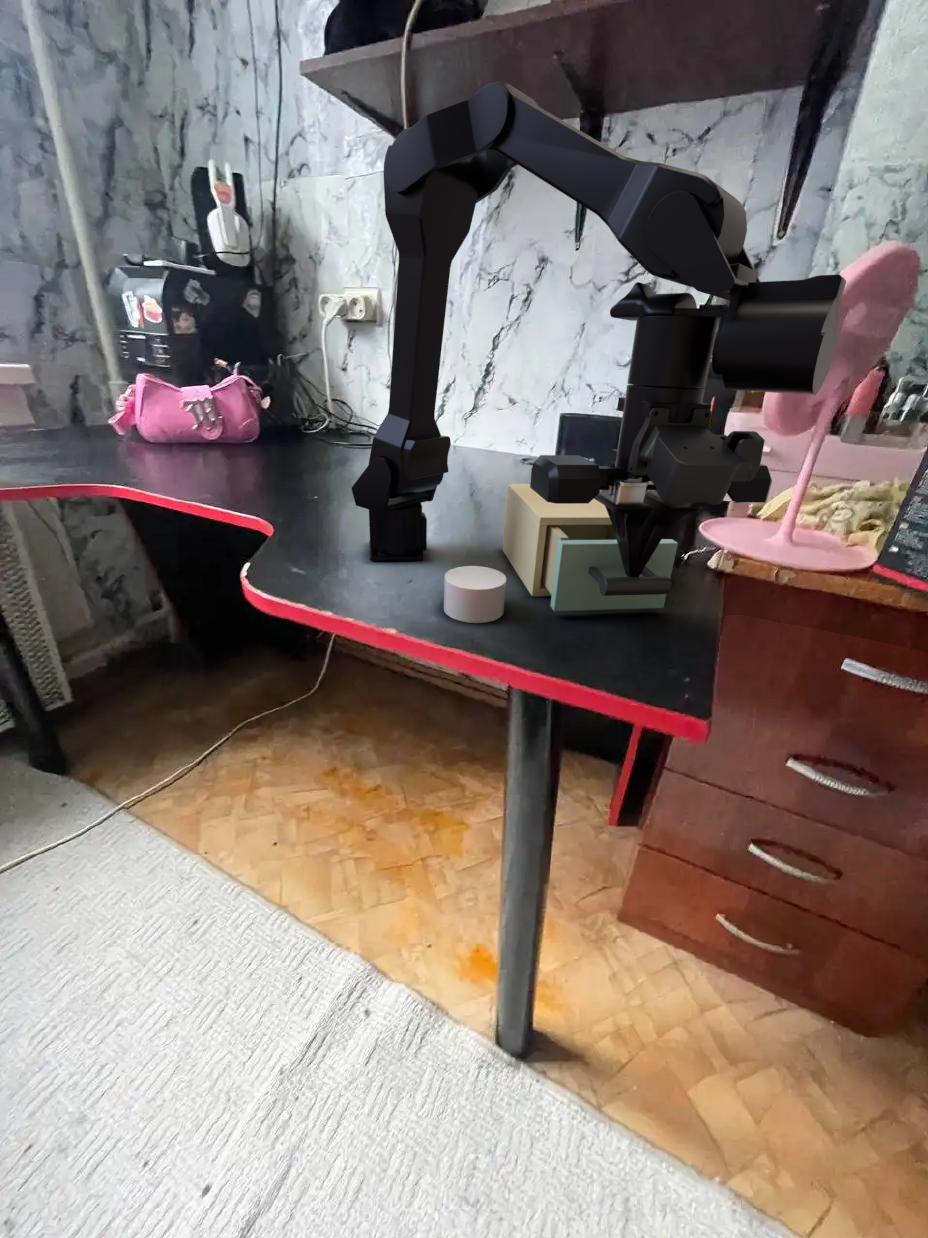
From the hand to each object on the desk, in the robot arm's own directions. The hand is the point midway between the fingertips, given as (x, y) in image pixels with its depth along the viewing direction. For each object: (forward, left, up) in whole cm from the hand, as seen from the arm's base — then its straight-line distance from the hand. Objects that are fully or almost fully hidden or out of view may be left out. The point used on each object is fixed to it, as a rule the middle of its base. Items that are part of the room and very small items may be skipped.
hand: (631, 576), depth 49 cm
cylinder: (-13, +6, -6) cm, 15 cm away
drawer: (0, +7, -5) cm, 9 cm away
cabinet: (0, +16, -6) cm, 17 cm away
